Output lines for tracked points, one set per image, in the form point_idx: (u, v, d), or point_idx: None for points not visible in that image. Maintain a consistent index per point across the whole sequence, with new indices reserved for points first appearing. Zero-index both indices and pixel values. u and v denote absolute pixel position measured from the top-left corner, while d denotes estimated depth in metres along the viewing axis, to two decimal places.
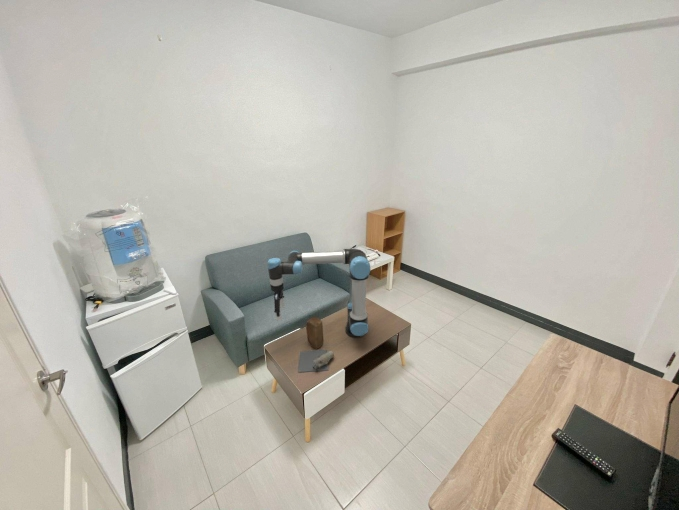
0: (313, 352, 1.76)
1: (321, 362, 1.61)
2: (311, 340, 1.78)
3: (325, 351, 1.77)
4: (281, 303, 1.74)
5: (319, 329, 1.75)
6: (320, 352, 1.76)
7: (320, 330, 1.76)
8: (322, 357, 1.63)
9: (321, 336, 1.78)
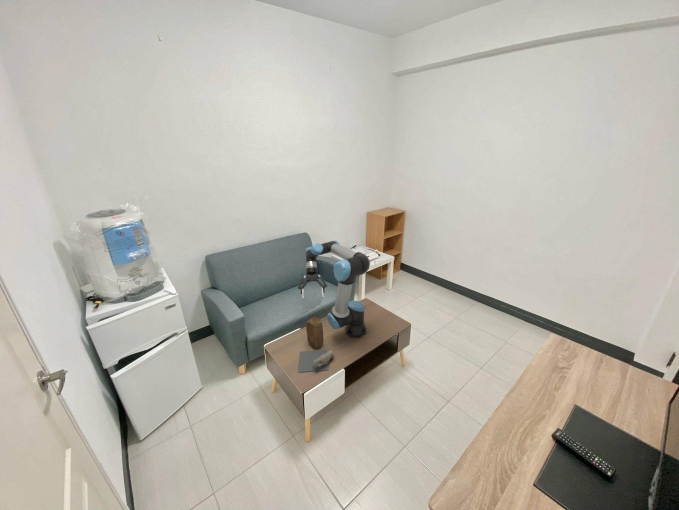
0: (313, 352, 1.76)
1: (321, 362, 1.61)
2: (311, 340, 1.78)
3: (325, 351, 1.77)
4: (322, 292, 1.88)
5: (319, 329, 1.75)
6: (320, 352, 1.76)
7: (320, 330, 1.76)
8: (322, 357, 1.63)
9: (321, 336, 1.78)
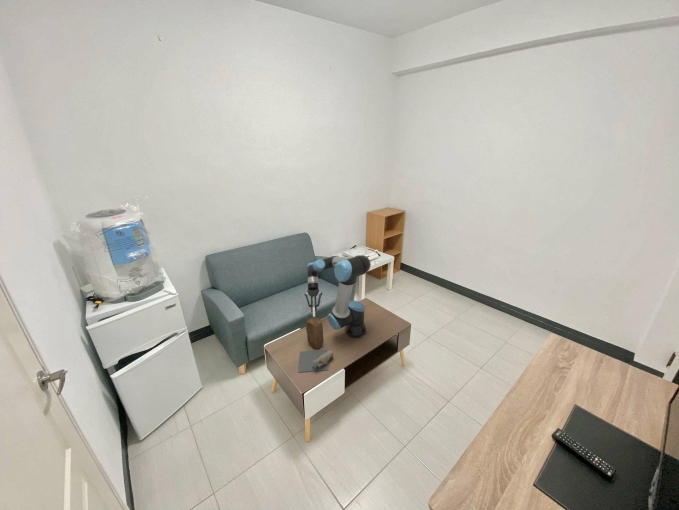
0: (313, 352, 1.76)
1: (321, 362, 1.61)
2: (311, 340, 1.78)
3: (325, 351, 1.77)
4: None
5: (319, 329, 1.75)
6: (320, 352, 1.76)
7: (320, 330, 1.76)
8: (321, 357, 1.63)
9: (321, 336, 1.78)
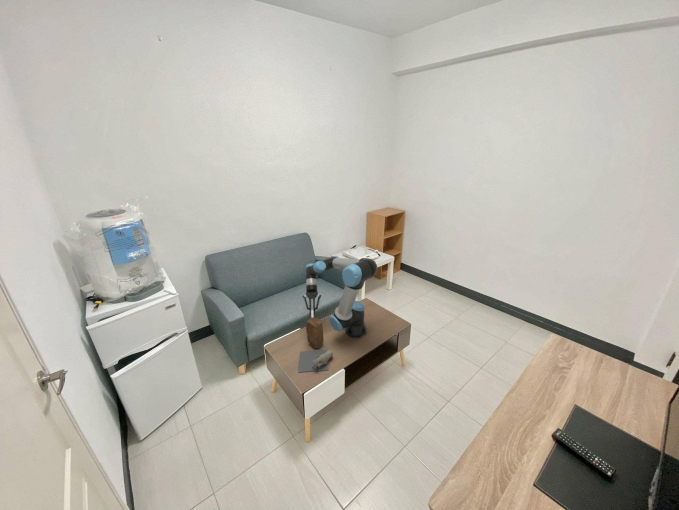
0: (313, 352, 1.76)
1: (321, 362, 1.61)
2: (311, 340, 1.78)
3: (325, 351, 1.77)
4: None
5: (319, 329, 1.75)
6: (320, 352, 1.76)
7: (320, 330, 1.75)
8: (321, 357, 1.63)
9: (321, 336, 1.78)
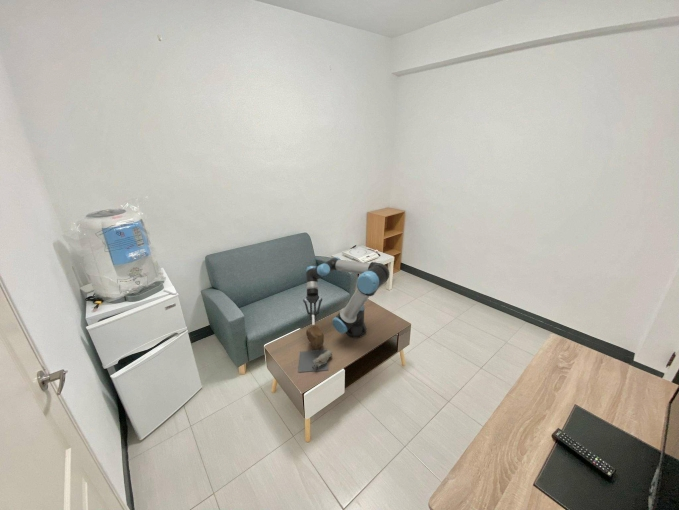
0: (313, 352, 1.76)
1: (320, 362, 1.61)
2: (311, 343, 1.75)
3: (325, 351, 1.77)
4: None
5: (320, 338, 1.69)
6: (320, 352, 1.76)
7: (321, 339, 1.70)
8: (321, 357, 1.63)
9: (322, 341, 1.74)
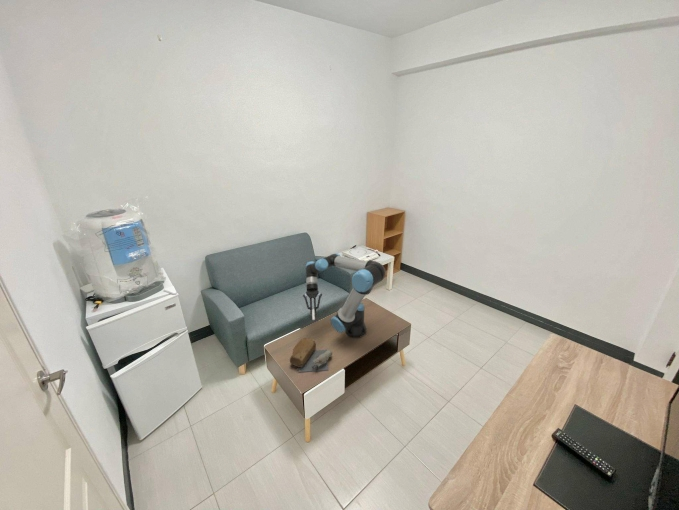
0: (313, 352, 1.76)
1: (320, 362, 1.61)
2: None
3: (325, 351, 1.77)
4: None
5: (306, 358, 1.65)
6: (320, 352, 1.76)
7: (306, 357, 1.66)
8: (321, 357, 1.63)
9: (310, 351, 1.70)
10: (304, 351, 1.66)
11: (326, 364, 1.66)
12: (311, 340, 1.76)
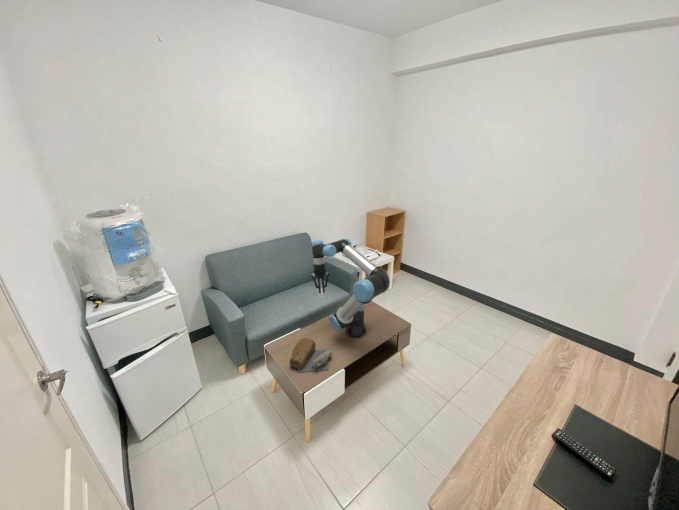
0: (313, 352, 1.76)
1: (320, 362, 1.61)
2: None
3: (325, 351, 1.77)
4: None
5: (305, 359, 1.65)
6: (320, 352, 1.76)
7: (306, 358, 1.66)
8: (321, 357, 1.63)
9: (310, 351, 1.70)
10: (303, 353, 1.66)
11: (326, 364, 1.66)
12: (310, 340, 1.75)
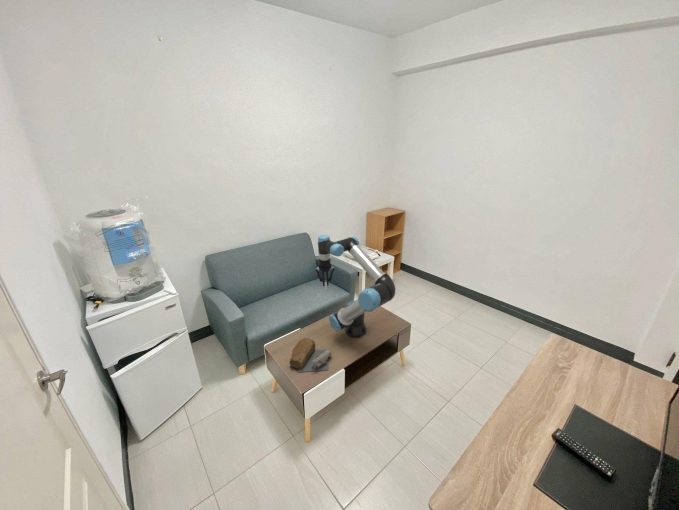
0: (313, 352, 1.76)
1: (320, 361, 1.62)
2: None
3: None
4: None
5: (305, 359, 1.65)
6: (320, 352, 1.76)
7: (306, 358, 1.66)
8: (320, 356, 1.64)
9: (310, 351, 1.70)
10: (303, 353, 1.66)
11: (326, 364, 1.66)
12: (310, 340, 1.75)
